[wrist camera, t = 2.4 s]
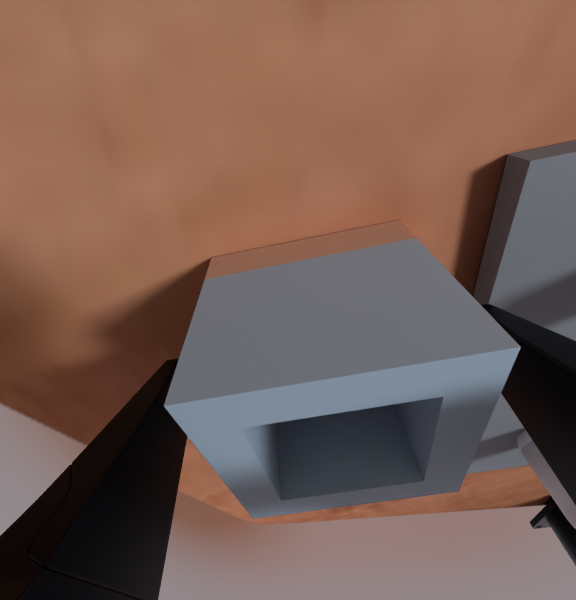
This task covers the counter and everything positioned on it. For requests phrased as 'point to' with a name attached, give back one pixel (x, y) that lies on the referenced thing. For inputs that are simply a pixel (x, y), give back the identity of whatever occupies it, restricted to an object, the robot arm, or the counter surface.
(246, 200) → the counter surface
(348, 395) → the sleeve
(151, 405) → the robot arm
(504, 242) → the pin board
